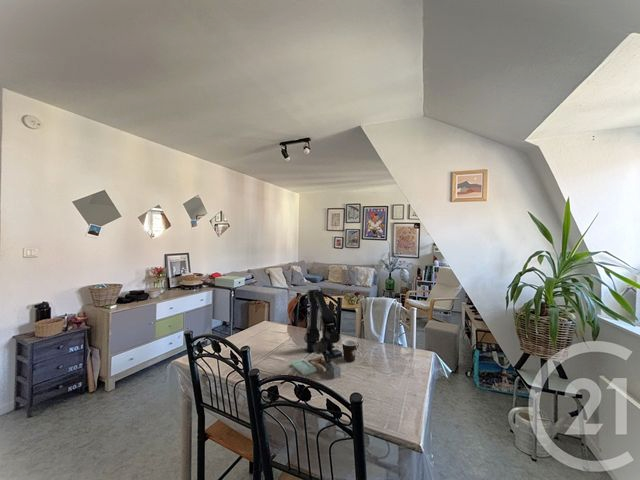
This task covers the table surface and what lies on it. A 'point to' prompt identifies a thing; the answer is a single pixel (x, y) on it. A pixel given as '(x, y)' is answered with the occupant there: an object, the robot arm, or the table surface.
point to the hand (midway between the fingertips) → (327, 365)
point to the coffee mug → (349, 350)
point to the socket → (314, 363)
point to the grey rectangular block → (333, 370)
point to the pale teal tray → (304, 367)
